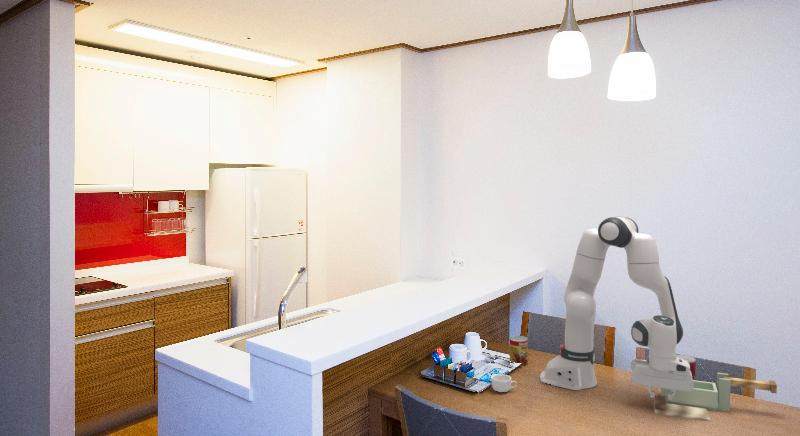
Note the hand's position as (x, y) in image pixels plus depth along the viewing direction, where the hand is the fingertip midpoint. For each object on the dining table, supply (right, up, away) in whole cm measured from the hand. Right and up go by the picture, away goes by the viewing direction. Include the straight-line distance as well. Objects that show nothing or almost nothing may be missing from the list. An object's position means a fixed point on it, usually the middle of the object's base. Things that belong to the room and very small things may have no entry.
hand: (661, 398), depth 196 cm
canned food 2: (+20, -2, +22) cm, 30 cm away
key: (+30, +5, -3) cm, 31 cm away
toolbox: (+15, -3, +5) cm, 16 cm away
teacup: (-53, -3, +19) cm, 57 cm away
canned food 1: (-41, -1, +48) cm, 63 cm away
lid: (+6, -5, -2) cm, 8 cm away
